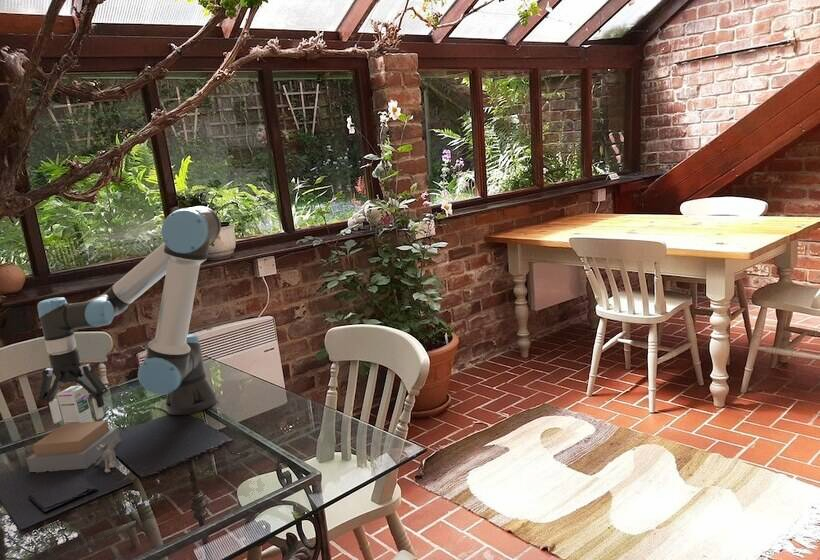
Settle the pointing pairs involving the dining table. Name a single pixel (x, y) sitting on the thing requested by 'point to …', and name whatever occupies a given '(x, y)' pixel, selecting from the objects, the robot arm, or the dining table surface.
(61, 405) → the syrup box
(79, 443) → the display podium
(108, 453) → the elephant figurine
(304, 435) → the dining table surface
